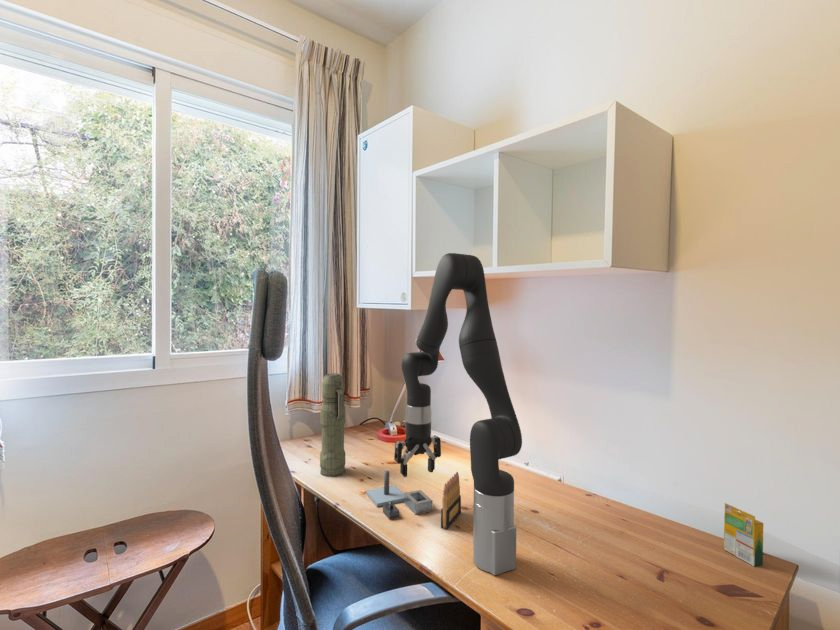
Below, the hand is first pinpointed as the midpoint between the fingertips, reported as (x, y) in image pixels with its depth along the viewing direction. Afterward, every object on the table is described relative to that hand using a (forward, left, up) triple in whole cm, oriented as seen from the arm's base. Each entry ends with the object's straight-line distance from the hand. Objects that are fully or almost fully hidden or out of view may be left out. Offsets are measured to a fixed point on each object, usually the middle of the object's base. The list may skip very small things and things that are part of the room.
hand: (417, 473), depth 125 cm
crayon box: (-56, -59, -10) cm, 82 cm away
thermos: (+37, +16, -10) cm, 41 cm away
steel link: (0, 0, -10) cm, 10 cm away
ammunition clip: (-11, -5, -10) cm, 16 cm away
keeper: (+10, +6, -10) cm, 15 cm away
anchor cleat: (-1, +9, -10) cm, 13 cm away
